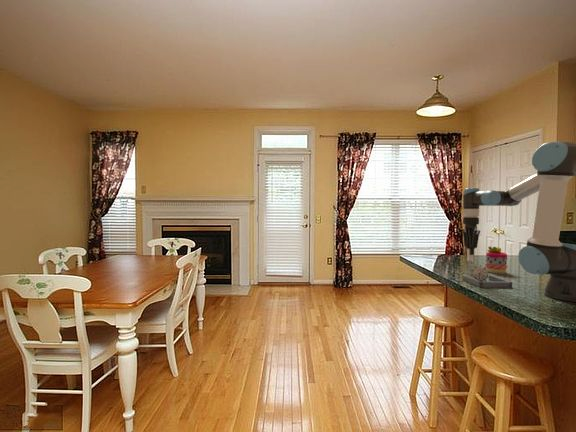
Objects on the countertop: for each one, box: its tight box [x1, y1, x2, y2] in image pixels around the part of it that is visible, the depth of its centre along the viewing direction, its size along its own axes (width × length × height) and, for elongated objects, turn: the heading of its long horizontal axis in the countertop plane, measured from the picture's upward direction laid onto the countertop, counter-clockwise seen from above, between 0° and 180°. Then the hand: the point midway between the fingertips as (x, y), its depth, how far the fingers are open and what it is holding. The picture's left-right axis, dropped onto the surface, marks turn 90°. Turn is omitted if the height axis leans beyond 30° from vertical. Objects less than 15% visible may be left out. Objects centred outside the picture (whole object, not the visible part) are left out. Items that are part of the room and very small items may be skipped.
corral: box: [461, 274, 513, 288], centre depth 163 cm, size 15×15×2 cm
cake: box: [485, 245, 508, 275], centre depth 191 cm, size 10×10×15 cm
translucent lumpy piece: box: [470, 264, 491, 282], centre depth 167 cm, size 9×8×10 cm
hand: (470, 260), depth 176 cm, fingers closed
